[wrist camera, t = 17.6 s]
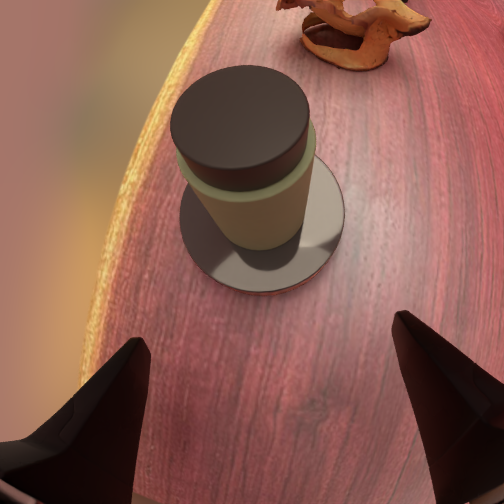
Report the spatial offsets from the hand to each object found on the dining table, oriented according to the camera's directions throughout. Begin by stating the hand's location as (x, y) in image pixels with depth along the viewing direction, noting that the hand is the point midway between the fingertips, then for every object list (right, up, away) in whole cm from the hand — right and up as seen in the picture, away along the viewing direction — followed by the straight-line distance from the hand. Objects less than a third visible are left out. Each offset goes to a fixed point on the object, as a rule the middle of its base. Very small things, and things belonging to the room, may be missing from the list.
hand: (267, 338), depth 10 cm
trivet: (0, +5, +8) cm, 9 cm away
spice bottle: (0, +5, +6) cm, 8 cm away
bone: (+8, +21, +11) cm, 25 cm away
